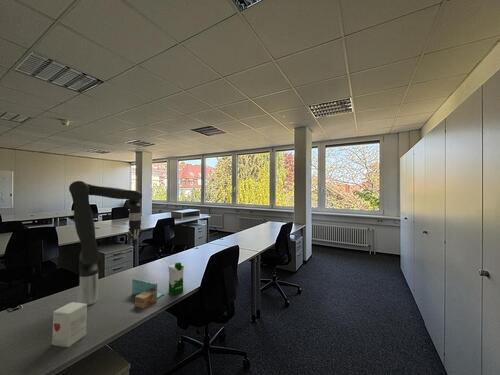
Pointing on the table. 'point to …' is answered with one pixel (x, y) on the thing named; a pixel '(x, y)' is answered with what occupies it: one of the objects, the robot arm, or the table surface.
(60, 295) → the table surface
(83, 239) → the robot arm
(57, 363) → the table surface
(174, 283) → the milk carton
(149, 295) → the block
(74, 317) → the supplement box
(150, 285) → the bookend
